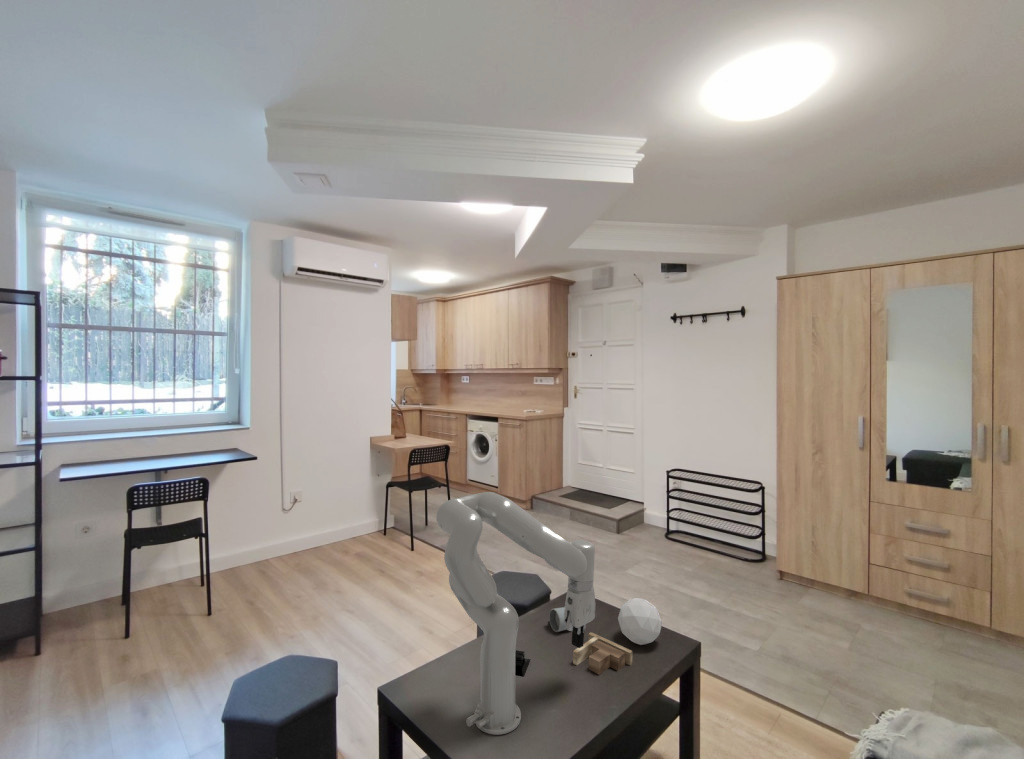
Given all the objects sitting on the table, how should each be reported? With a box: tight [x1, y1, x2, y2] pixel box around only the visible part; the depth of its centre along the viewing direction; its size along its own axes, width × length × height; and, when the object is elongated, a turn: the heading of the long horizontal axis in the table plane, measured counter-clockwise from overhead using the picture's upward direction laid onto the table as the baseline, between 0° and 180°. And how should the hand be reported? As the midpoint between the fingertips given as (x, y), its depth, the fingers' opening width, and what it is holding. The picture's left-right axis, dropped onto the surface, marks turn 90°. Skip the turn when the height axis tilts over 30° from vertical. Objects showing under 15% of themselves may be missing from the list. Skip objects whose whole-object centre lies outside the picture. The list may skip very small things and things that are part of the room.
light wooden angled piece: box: [572, 631, 633, 666], centre depth 152 cm, size 14×16×4 cm
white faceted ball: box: [617, 597, 663, 646], centre depth 164 cm, size 14×15×15 cm
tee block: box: [588, 641, 626, 676], centre depth 150 cm, size 10×10×4 cm
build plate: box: [515, 649, 532, 678], centre depth 149 cm, size 12×7×5 cm, turn 165°
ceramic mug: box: [548, 606, 567, 633], centre depth 174 cm, size 11×8×8 cm
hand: (577, 645), depth 141 cm, fingers closed
